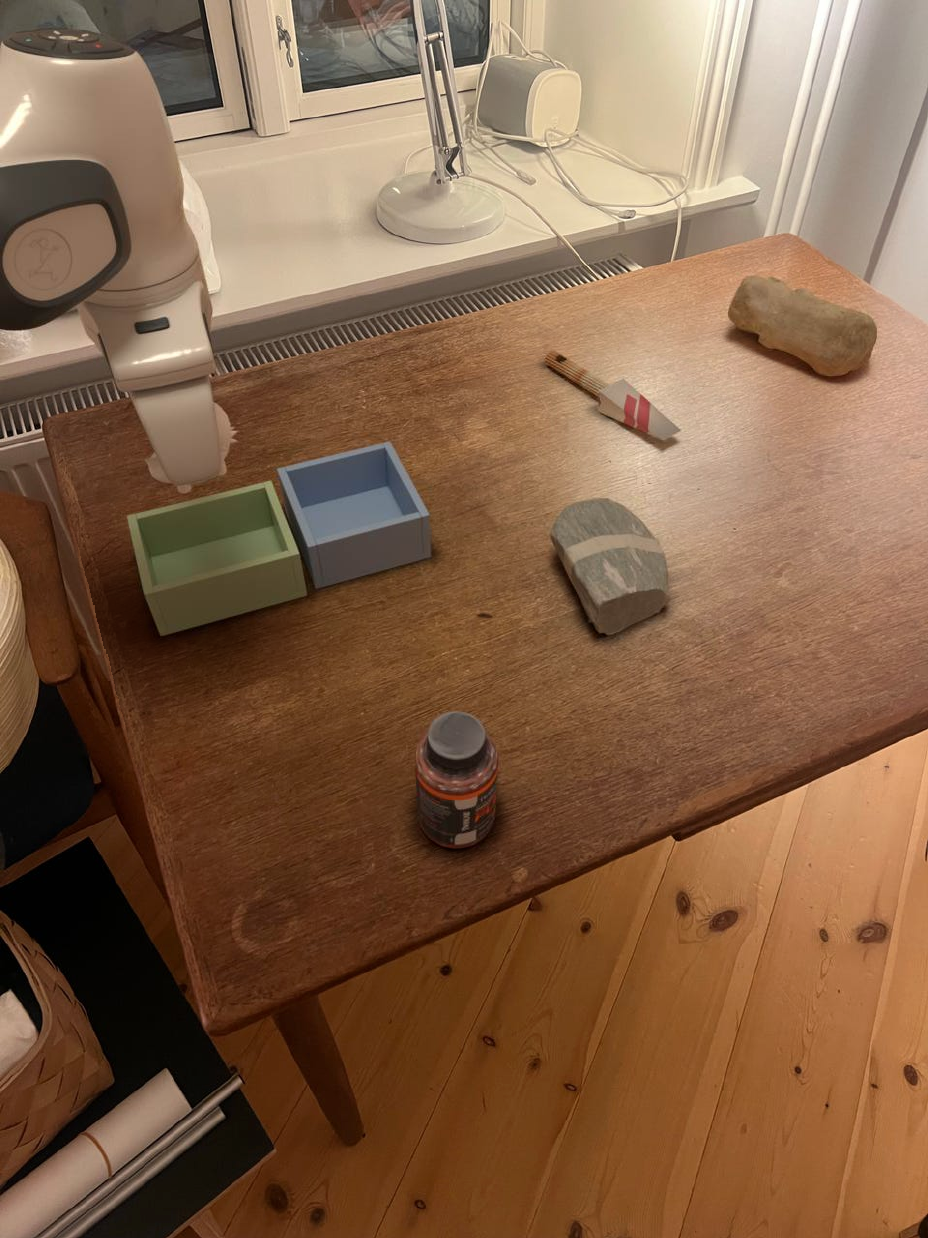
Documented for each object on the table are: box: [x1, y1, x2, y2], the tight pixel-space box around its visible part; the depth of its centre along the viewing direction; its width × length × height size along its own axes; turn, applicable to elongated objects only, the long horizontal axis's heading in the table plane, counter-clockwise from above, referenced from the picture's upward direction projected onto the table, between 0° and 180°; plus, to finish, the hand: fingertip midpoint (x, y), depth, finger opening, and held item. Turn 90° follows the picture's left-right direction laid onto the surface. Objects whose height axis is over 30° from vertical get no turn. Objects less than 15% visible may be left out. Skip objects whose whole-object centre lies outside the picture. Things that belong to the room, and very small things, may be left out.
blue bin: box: [276, 440, 432, 590], centre depth 89 cm, size 12×12×6 cm
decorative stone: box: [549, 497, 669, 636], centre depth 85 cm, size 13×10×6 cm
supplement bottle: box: [414, 710, 499, 849], centre depth 67 cm, size 6×6×11 cm
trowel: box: [544, 349, 682, 441], centre depth 104 cm, size 4×3×20 cm
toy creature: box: [143, 401, 240, 494], centre depth 73 cm, size 5×8×6 cm, turn 131°
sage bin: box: [126, 480, 308, 637], centre depth 85 cm, size 14×11×6 cm
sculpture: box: [727, 275, 878, 377], centre depth 109 cm, size 9×17×10 cm
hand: (188, 454), depth 74 cm, fingers closed on toy creature, 5 cm apart
